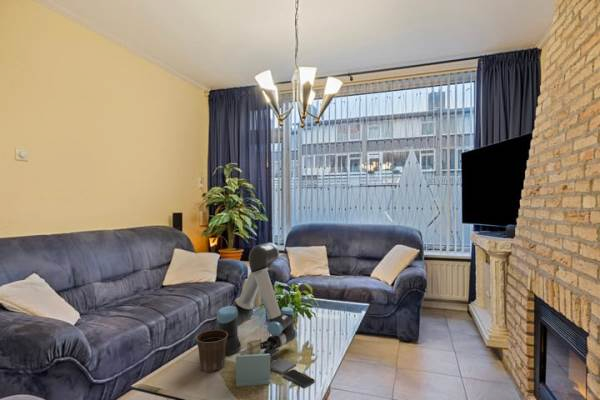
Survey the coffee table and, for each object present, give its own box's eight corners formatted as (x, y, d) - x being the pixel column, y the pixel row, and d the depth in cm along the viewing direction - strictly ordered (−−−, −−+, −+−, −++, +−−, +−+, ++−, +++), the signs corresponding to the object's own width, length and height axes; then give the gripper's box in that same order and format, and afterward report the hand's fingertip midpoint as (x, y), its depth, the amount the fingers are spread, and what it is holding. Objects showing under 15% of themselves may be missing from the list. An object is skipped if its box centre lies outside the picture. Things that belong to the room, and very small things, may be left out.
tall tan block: (246, 369, 175) (246, 342, 175) (253, 365, 180) (253, 338, 179) (253, 372, 172) (253, 344, 172) (260, 368, 177) (260, 341, 176)
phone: (304, 386, 158) (282, 374, 169) (304, 389, 158) (282, 376, 169) (315, 379, 164) (293, 368, 174) (315, 382, 164) (293, 371, 174)
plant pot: (190, 373, 171) (190, 341, 171) (203, 358, 187) (203, 328, 187) (221, 375, 169) (221, 343, 169) (232, 360, 185) (232, 330, 185)
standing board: (236, 380, 165) (236, 353, 165) (269, 378, 167) (269, 351, 167) (235, 386, 160) (235, 358, 160) (270, 383, 162) (270, 356, 162)
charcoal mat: (266, 367, 177) (266, 365, 177) (279, 359, 186) (279, 357, 186) (282, 374, 171) (282, 372, 171) (296, 365, 179) (296, 363, 179)
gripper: (291, 353, 184) (263, 370, 166) (261, 342, 197) (232, 357, 179) (291, 339, 184) (263, 355, 166) (261, 329, 197) (232, 343, 179)
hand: (247, 356), depth 172 cm, fingers open, 9 cm apart
